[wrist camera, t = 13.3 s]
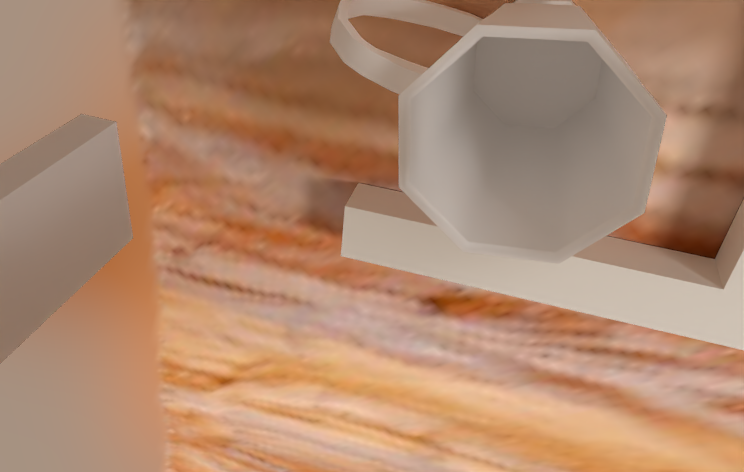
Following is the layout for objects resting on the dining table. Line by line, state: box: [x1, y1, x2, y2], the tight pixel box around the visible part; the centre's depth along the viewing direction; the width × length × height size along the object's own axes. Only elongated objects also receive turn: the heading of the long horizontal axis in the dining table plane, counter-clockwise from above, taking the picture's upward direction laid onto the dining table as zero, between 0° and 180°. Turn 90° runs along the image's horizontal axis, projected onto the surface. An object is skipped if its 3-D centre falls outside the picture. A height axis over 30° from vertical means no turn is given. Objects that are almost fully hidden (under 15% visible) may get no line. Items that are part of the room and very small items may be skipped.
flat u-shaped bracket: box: [341, 183, 744, 350], centre depth 21 cm, size 22×20×2 cm
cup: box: [330, 0, 667, 264], centre depth 20 cm, size 7×10×8 cm
